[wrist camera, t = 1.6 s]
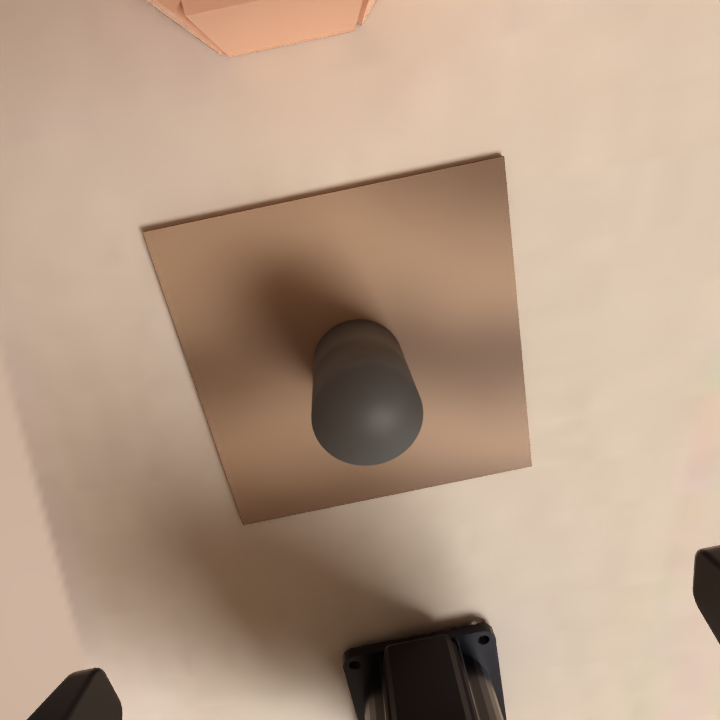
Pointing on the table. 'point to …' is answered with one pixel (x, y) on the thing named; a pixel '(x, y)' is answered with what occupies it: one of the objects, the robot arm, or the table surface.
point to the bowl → (263, 21)
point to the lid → (354, 339)
